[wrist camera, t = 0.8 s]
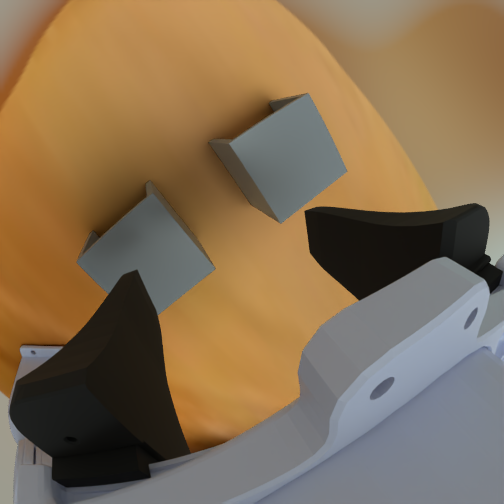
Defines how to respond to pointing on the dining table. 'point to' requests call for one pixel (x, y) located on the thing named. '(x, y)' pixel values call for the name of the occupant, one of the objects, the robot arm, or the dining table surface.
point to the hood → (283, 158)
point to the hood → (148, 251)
